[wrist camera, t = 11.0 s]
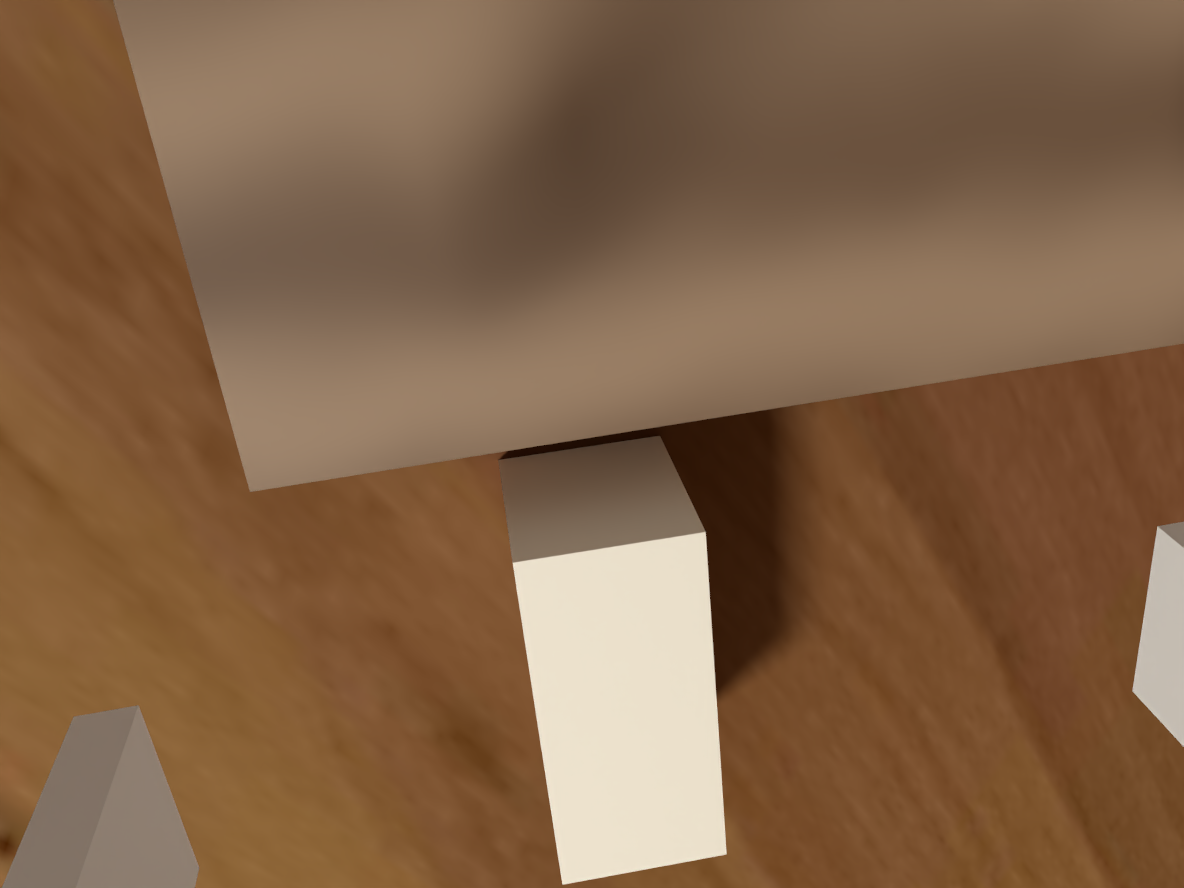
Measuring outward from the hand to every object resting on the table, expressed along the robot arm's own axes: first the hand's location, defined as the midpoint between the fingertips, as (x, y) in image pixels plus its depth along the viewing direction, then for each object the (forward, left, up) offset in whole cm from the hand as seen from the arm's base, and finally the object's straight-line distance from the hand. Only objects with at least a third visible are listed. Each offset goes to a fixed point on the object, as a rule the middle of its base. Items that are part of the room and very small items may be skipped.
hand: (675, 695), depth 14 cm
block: (+2, 0, -10) cm, 11 cm away
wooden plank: (-5, +3, -13) cm, 14 cm away
